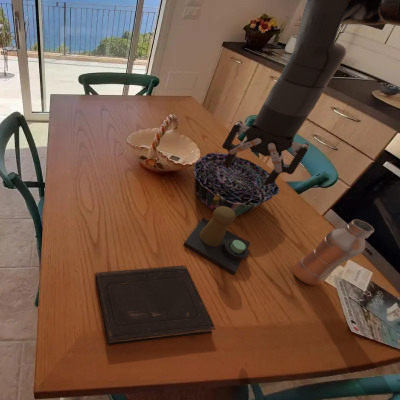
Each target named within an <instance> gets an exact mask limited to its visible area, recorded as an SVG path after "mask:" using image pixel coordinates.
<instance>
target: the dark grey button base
mask: <svg viewBox="0 0 400 400" xmlns="http://www.w3.org/2000/svg"><path fill="white" fill-rule="evenodd" d="M209 221H210V220H208V219H206V218H204V217H202V218H201V219H200V221H199V222H198V223H197V225H196V226H195V227H194V229H193V230H192V231H191V233H190V234H189V235H188V237H187V239H186V240H185V241H184V242H183V244H182V245H183V246H184V247H185V248H187V249H189V250H190V251H192V252H194V253H195V254H197V255H199V256H200V257H202V258H204V259H205V260H207V261H209V262H211V263H212V264H214V265H216V266H218V268H220V269H222V270H224V271H225V272H228V273H229V274H231V275H233V276H234V275H235V274H236V273H237V270H238V269H239V267H240V265H241V263H242V261H245V260H246V259H247V258H248V256H249V255H250V250H249V247H250V245H251V242H250V241H248V240H246V239H245V238H243V237H240V236H239V235H237V234H236V233H233V232H231V231H229V230H228V229H227V230H226V233H225V235H224V238H223V240H222V243H221V244H220V245H219V246H210V245H207V244H205V243H204V242H203V241H202V240H201V238H200V235H199V234H200V232H201V231H202V230H203V228H204V227H205V226H206V225H207V224H208V222H209ZM234 240H239V241H241V242H243V243H244V244H245V246H246V248H245V249H244V251H243V252H242V253H235V252H233V251H232V250H231V248H230V245H231V244H232V242H233V241H234Z"/></svg>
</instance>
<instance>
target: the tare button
mask: <svg viewBox="0 0 400 400" xmlns="http://www.w3.org/2000/svg"><path fill="white" fill-rule="evenodd" d="M230 248H231V250H232V251H233V252H235V253H242V252H243V251H244V249H245V248H246V246H245V244H244V243H243V242H241V241H239V240H234V241H233V242H232V244H231V245H230Z"/></svg>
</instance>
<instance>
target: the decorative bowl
mask: <svg viewBox="0 0 400 400" xmlns="http://www.w3.org/2000/svg"><path fill="white" fill-rule="evenodd" d="M227 155H228V153H224V152H223V153H222V152H209V153H206V154H205V155H202V157H200V158H199V159H198V160H196V161H195V162H194V163H193V173H194V190H195V195H196V196H197V197H198V199H199V201H200V202H201V203H202V204H205V205H206V207H207V208H208V209H210V210H215V209H216V208H217V207H220V206H226V207H229V208H231V209H232V210H233V211H234V212H235V215H236V216H235V217H238V216H241V215H244V214H246V213H249V212H250V211H252V210H253V209H256V207H258V206H260V205H262V204H264V203H265V202H268V201H269V200H271V199H273V196H276V195H279V194H280V191H281V188H280V187H279V185H278V184H277V183H276V180H275V181H274V183H272V184H268V185H265V184H264V183H265V181H266V179H267V178H268V176H269V175H270V173H271V172H269V171H267V170H266V169H265V168H263V167H262V166H259V165H258V164H256V163H254V162H252V161H251V160H249V159H246V158H243V157H239V156H237V155H236V156H235V158H234V160H233V162H232V164H231V165H230V167H229V168H228V169H227V168H225V166H226V165H224V161H225V159H226V157H227Z"/></svg>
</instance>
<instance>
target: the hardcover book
mask: <svg viewBox="0 0 400 400" xmlns="http://www.w3.org/2000/svg"><path fill="white" fill-rule="evenodd" d="M94 278H95V283H96V288H97V289H96V290H97V295H98V300H99V306H100V310H101V317H102V321H103V326H104V332H105V337H106V343H107V346H113V345H114V346H115V345H122V344H123V345H124V344H129V343H131V344H132V343H139V342H146V341H156V340H165V339H173V338H180V337H189V336H190V337H191V336H197V335H198V336H199V335H206V334H213V331H212V330H217V328H216V327H215V324H214V322H213V319H212V318H211V316H210V314H209V312H208V310H207V307H206V306H205V303H204V301H203V299H202V297H201V295H200V293H199V291H198V288H197V287H196V284H195V282H194V280H193V278H192V276H191V274H190V272H189V270H188V268H187V265H172V266H161V267H148V268H136V269H125V270H123V269H122V270H111V271H98V272H95V275H94Z"/></svg>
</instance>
